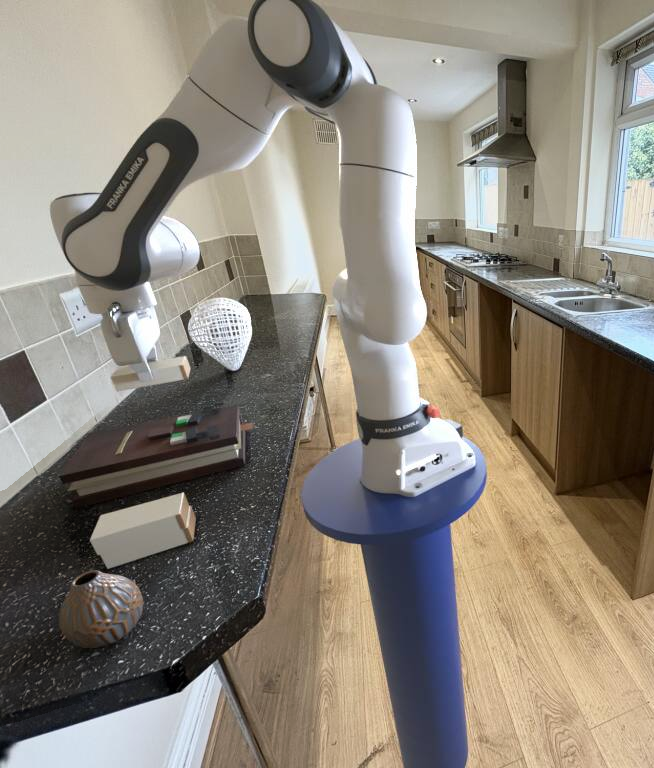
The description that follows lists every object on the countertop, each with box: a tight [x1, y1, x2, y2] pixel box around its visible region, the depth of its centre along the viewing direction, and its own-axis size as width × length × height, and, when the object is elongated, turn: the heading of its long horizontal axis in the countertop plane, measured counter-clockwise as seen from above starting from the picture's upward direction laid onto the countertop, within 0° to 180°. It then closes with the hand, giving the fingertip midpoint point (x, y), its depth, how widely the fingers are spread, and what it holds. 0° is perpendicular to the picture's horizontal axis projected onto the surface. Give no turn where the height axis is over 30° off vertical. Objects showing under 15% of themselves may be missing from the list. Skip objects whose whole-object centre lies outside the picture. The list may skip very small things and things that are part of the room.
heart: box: [187, 297, 253, 372], centre depth 128 cm, size 28×16×22 cm, turn 32°
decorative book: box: [58, 401, 255, 509], centre depth 82 cm, size 19×8×30 cm
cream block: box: [110, 355, 192, 393], centre depth 75 cm, size 10×6×3 cm, turn 122°
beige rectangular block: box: [89, 492, 197, 570], centre depth 62 cm, size 10×6×6 cm, turn 122°
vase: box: [58, 569, 144, 649], centre depth 48 cm, size 7×7×9 cm
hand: (150, 373), depth 75 cm, fingers closed on cream block, 6 cm apart
